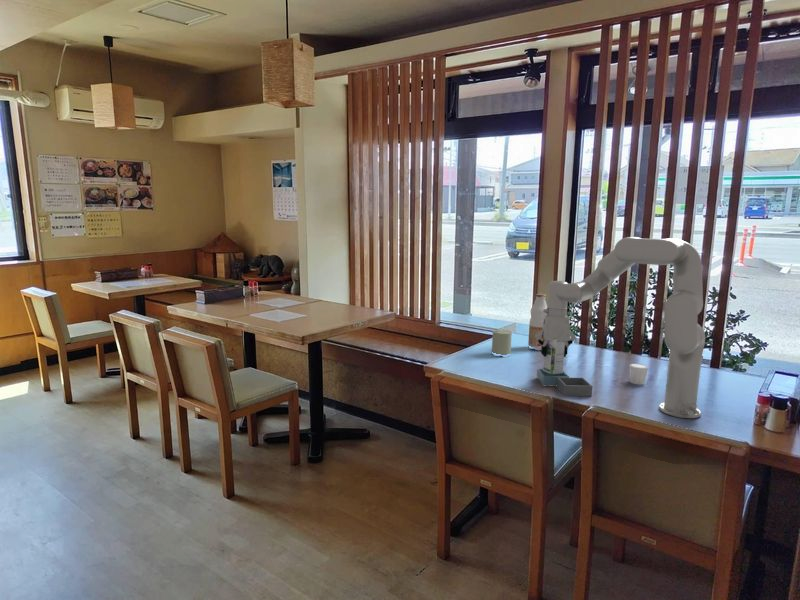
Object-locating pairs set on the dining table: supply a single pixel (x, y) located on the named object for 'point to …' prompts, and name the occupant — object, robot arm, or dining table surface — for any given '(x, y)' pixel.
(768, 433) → the dining table surface
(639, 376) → the white cup
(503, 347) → the can
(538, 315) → the fruit juice
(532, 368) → the dining table surface
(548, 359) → the syrup box
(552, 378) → the slate bin
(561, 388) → the charcoal bin
